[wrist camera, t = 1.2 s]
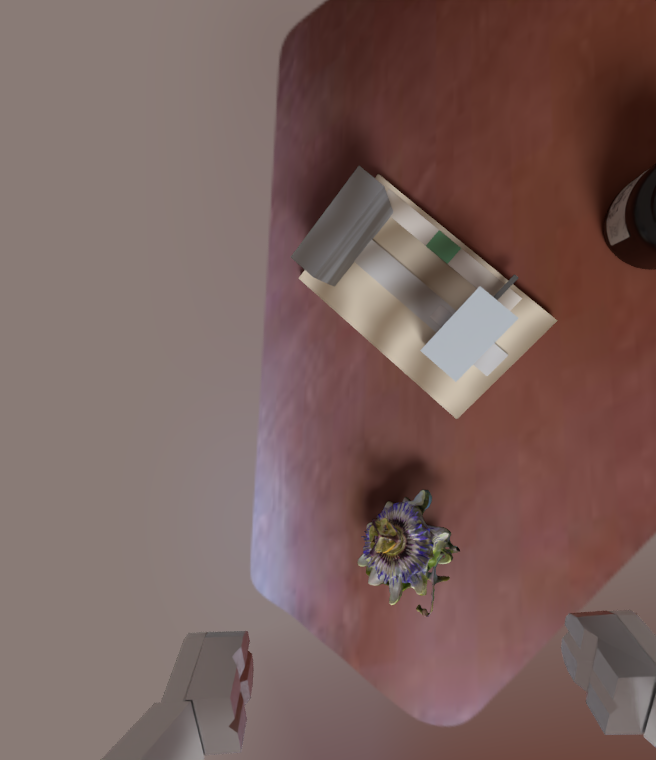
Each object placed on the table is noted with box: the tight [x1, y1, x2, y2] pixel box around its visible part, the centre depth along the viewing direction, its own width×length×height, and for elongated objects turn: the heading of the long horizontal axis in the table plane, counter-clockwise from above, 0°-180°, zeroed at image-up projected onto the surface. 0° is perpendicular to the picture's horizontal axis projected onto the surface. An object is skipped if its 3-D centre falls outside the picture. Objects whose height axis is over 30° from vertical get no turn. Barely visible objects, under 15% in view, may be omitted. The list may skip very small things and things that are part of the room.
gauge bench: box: [291, 166, 557, 419], centre depth 39 cm, size 24×14×10 cm, turn 50°
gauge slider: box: [420, 275, 518, 382], centre depth 36 cm, size 6×11×9 cm, turn 140°
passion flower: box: [358, 490, 460, 617], centre depth 44 cm, size 11×11×12 cm
